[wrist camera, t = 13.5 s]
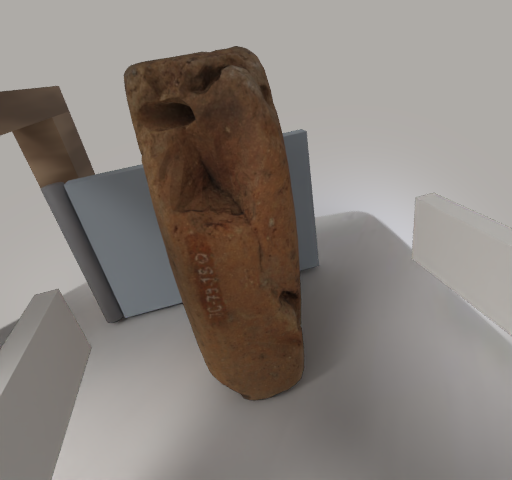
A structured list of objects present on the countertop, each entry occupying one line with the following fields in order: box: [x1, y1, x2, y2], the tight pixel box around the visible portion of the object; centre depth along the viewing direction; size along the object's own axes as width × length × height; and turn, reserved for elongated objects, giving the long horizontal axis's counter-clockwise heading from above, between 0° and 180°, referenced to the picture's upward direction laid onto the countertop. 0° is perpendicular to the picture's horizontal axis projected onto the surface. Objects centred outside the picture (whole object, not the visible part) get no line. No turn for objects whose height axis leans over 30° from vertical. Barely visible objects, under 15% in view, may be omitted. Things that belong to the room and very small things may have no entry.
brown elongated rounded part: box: [124, 46, 304, 400], centre depth 21 cm, size 11×8×20 cm
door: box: [41, 129, 319, 323], centre depth 30 cm, size 21×3×13 cm, turn 102°
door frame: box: [0, 86, 95, 188], centre depth 19 cm, size 3×28×20 cm, turn 12°
